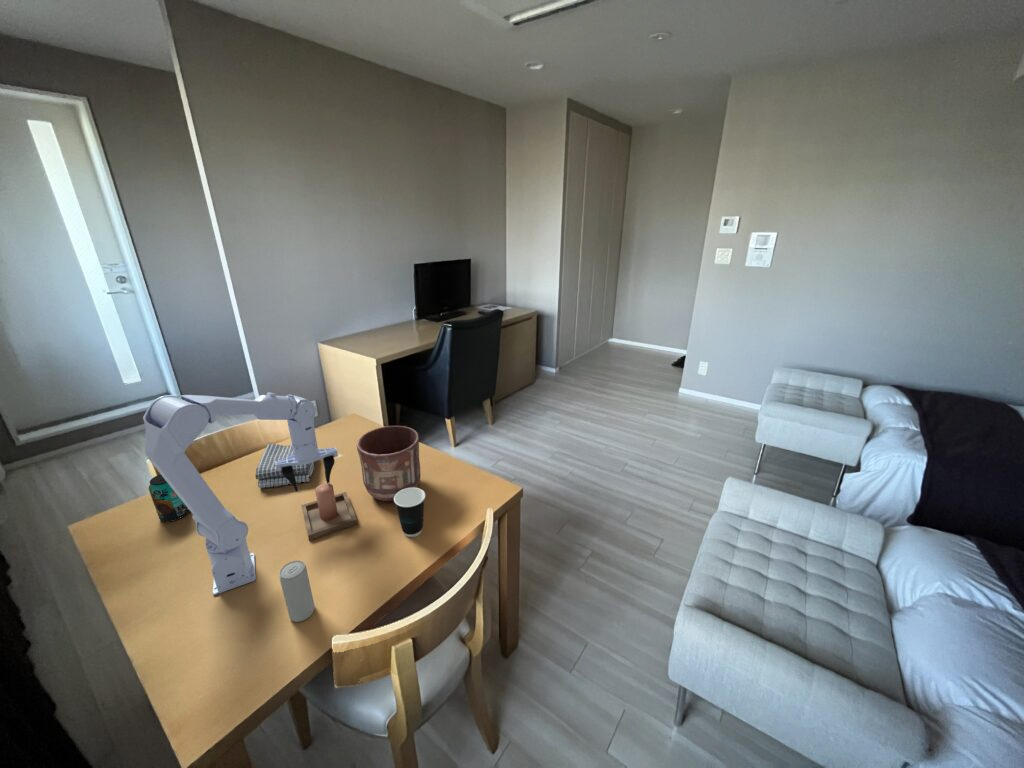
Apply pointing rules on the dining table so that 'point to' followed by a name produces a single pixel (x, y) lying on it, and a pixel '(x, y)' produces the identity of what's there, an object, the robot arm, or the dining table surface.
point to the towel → (275, 478)
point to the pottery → (389, 461)
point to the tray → (321, 527)
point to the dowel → (326, 501)
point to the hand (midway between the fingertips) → (312, 485)
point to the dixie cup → (410, 510)
